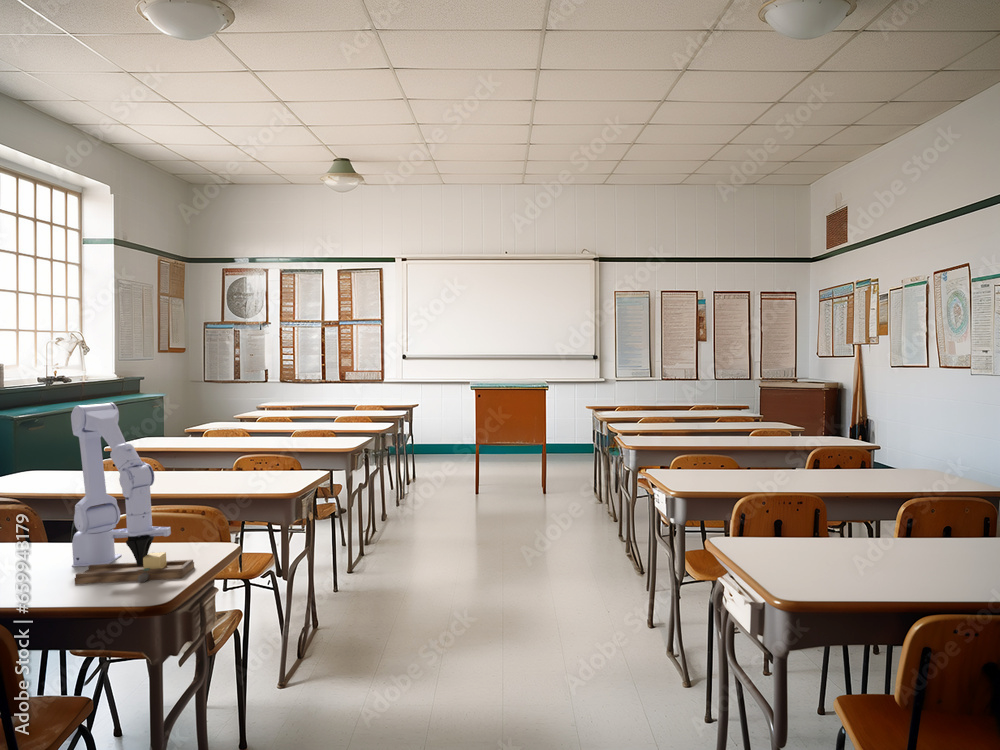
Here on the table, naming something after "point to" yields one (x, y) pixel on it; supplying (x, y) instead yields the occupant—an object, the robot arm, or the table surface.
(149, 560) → the block
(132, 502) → the robot arm
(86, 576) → the balance beam
